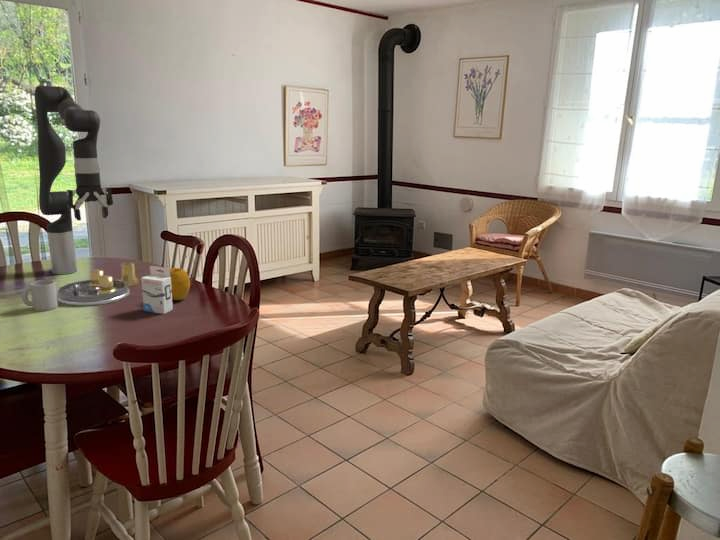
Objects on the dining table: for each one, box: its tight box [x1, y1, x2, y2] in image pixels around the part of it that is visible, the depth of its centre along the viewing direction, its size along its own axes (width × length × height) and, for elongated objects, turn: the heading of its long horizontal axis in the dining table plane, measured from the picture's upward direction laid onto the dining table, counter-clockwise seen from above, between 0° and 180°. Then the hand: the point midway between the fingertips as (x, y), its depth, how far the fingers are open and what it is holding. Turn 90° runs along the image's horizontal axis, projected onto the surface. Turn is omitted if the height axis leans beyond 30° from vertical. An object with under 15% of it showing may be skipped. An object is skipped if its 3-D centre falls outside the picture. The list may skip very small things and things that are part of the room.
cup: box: [21, 279, 59, 312], centre depth 182 cm, size 7×10×9 cm
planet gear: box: [118, 262, 140, 287], centre depth 213 cm, size 7×7×8 cm
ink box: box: [140, 265, 174, 315], centre depth 183 cm, size 8×5×15 cm, turn 73°
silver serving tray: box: [57, 269, 131, 307], centre depth 197 cm, size 24×24×8 cm
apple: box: [169, 267, 191, 301], centre depth 196 cm, size 10×10×12 cm
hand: (91, 218), depth 189 cm, fingers open, 8 cm apart
